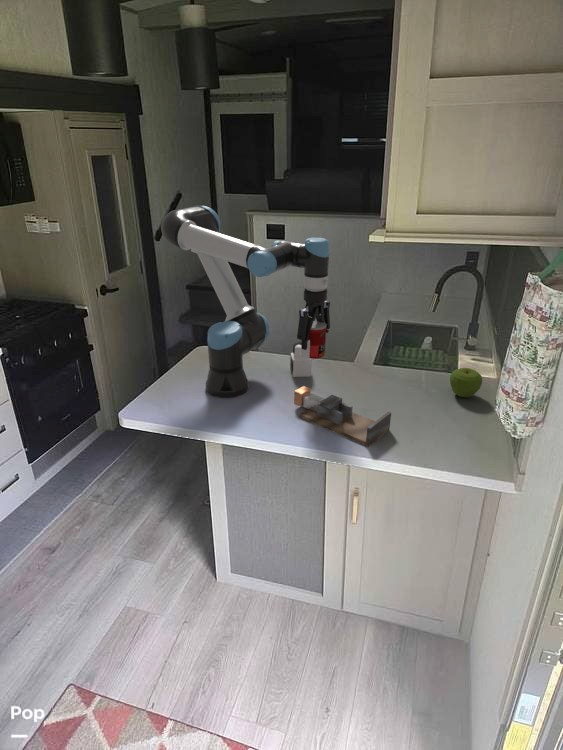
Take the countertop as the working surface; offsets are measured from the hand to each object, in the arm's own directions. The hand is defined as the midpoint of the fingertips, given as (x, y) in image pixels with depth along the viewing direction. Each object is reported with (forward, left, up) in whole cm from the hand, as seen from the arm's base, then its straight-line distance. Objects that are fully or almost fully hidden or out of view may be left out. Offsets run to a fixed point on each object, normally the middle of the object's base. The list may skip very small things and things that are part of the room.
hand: (313, 353), depth 175 cm
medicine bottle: (-13, +10, -15) cm, 22 cm away
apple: (+41, +33, -15) cm, 55 cm away
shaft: (+10, -10, -13) cm, 19 cm away
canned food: (0, 0, 0) cm, 0 cm away
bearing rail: (+20, -10, -15) cm, 27 cm away
